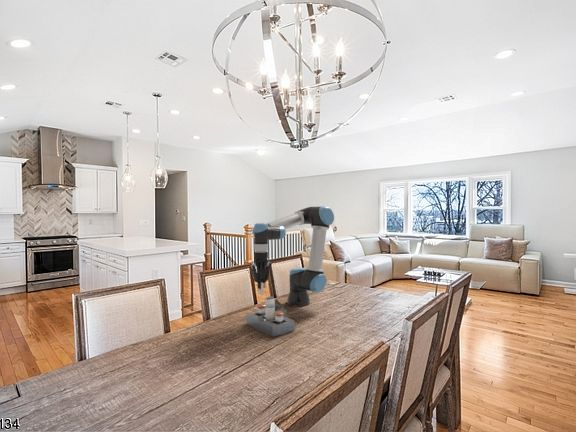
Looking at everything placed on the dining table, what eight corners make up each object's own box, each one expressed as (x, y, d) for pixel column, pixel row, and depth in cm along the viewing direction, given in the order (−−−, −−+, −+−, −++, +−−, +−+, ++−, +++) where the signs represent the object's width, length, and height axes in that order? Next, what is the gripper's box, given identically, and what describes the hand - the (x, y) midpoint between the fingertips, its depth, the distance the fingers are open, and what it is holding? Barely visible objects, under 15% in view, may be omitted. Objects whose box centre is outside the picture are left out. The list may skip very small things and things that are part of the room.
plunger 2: (280, 323, 167) (280, 310, 167) (286, 325, 163) (286, 312, 163) (272, 325, 164) (272, 312, 163) (278, 328, 160) (278, 314, 159)
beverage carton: (273, 321, 179) (273, 309, 179) (265, 310, 197) (265, 300, 197) (287, 319, 181) (286, 308, 181) (277, 309, 200) (277, 299, 200)
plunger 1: (262, 315, 179) (262, 303, 179) (268, 317, 175) (268, 305, 175) (254, 317, 176) (254, 304, 176) (260, 319, 172) (260, 307, 172)
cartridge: (271, 324, 173) (270, 295, 173) (276, 327, 169) (276, 297, 169) (263, 326, 170) (263, 296, 169) (268, 329, 166) (268, 298, 166)
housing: (267, 318, 183) (267, 309, 183) (294, 330, 165) (294, 320, 164) (246, 323, 174) (246, 314, 174) (272, 337, 156) (272, 327, 156)
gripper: (266, 249, 182) (266, 291, 182) (247, 251, 174) (247, 294, 174) (274, 251, 176) (274, 293, 176) (254, 253, 168) (254, 297, 168)
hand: (261, 294), depth 175 cm, fingers closed
